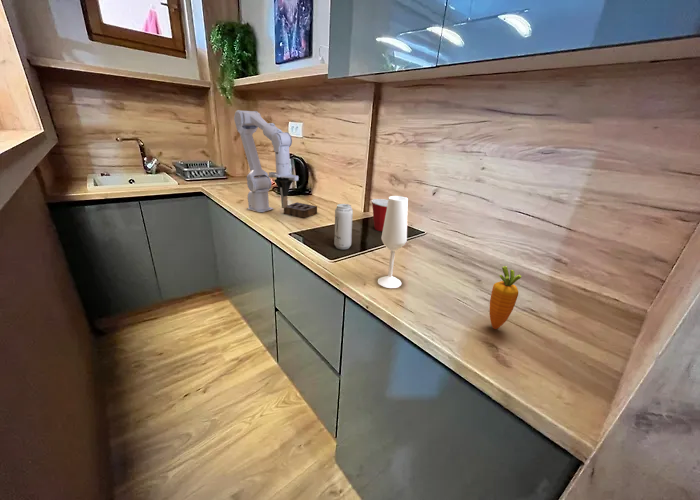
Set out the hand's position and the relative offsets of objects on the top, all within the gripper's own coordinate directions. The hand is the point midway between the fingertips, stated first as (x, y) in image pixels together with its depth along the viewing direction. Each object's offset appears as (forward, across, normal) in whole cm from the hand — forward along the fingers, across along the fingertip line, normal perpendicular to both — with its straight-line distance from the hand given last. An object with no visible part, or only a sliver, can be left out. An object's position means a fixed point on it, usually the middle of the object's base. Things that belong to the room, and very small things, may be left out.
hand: (284, 195), depth 131 cm
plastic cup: (+10, +42, +12) cm, 45 cm away
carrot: (+10, +90, -36) cm, 97 cm away
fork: (+5, 0, 0) cm, 5 cm away
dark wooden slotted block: (+10, +1, +10) cm, 14 cm away
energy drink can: (+10, +38, -14) cm, 42 cm away
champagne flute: (+10, +62, -29) cm, 69 cm away
